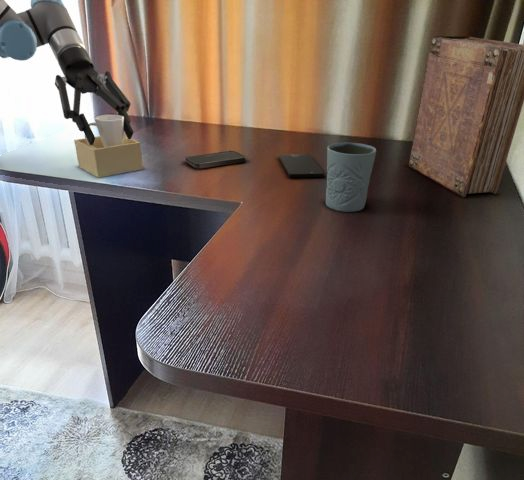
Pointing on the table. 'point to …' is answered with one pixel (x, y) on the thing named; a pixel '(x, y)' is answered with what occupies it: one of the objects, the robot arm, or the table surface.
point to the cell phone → (300, 165)
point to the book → (468, 112)
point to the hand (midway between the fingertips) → (112, 138)
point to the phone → (215, 159)
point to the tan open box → (109, 157)
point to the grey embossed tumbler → (348, 175)
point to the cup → (109, 129)
